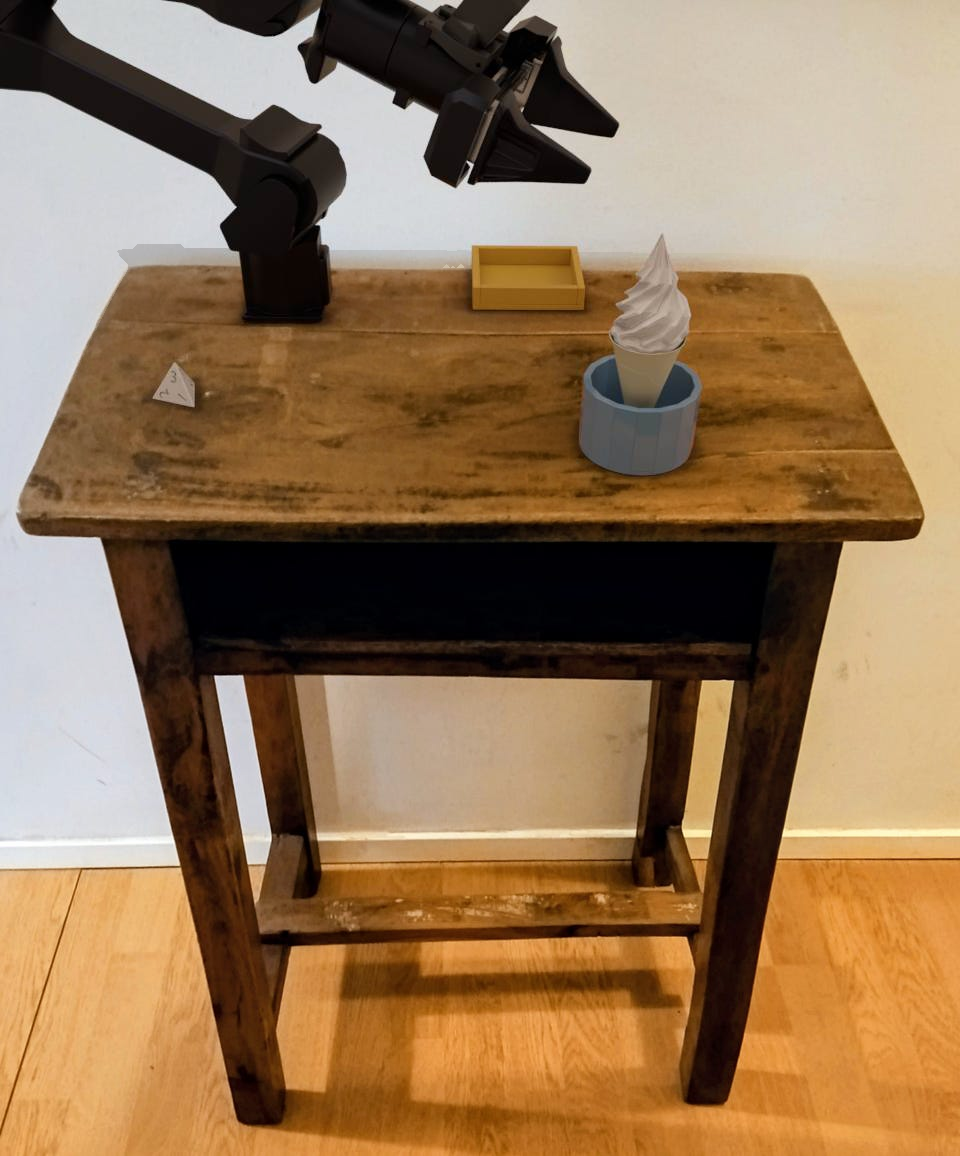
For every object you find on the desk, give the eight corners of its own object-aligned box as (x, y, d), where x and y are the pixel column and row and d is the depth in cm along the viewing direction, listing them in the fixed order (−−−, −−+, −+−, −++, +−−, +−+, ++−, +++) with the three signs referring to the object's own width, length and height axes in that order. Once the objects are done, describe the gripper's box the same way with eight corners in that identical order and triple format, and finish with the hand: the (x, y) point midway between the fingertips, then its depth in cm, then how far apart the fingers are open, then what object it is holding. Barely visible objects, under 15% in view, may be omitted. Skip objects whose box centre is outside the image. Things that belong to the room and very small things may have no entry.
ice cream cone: (675, 461, 78) (707, 251, 69) (601, 459, 78) (621, 249, 69) (668, 421, 82) (696, 217, 72) (596, 419, 82) (615, 215, 72)
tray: (472, 309, 95) (472, 287, 94) (471, 266, 102) (471, 245, 100) (583, 310, 96) (585, 288, 94) (575, 267, 102) (577, 245, 100)
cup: (583, 475, 77) (589, 411, 74) (574, 413, 83) (579, 351, 80) (699, 475, 77) (710, 412, 74) (682, 413, 83) (691, 352, 80)
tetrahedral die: (213, 401, 86) (215, 361, 85) (193, 408, 83) (195, 367, 82) (172, 392, 86) (174, 353, 85) (151, 399, 84) (152, 358, 83)
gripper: (391, -41, 67) (628, 85, 68) (483, -99, 81) (680, 5, 81) (340, 132, 75) (553, 244, 75) (432, 52, 89) (612, 147, 89)
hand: (603, 152), depth 80 cm, fingers open, 9 cm apart
